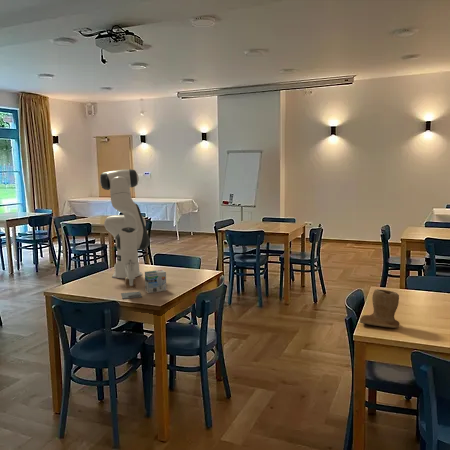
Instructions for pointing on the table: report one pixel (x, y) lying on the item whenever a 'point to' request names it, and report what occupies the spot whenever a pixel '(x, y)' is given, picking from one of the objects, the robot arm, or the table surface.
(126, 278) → the lettered cube
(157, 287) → the light bulb box
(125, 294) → the slate mat
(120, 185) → the robot arm
